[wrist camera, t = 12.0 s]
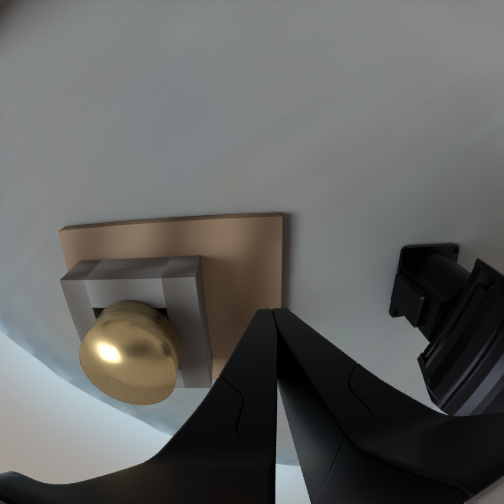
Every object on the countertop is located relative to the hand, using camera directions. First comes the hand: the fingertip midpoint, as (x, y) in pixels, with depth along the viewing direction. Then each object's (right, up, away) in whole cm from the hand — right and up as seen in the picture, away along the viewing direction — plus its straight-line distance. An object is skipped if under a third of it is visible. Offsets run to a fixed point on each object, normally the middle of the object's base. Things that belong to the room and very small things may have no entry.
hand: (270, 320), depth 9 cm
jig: (-6, -2, +13) cm, 15 cm away
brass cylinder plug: (-8, -3, +12) cm, 15 cm away
